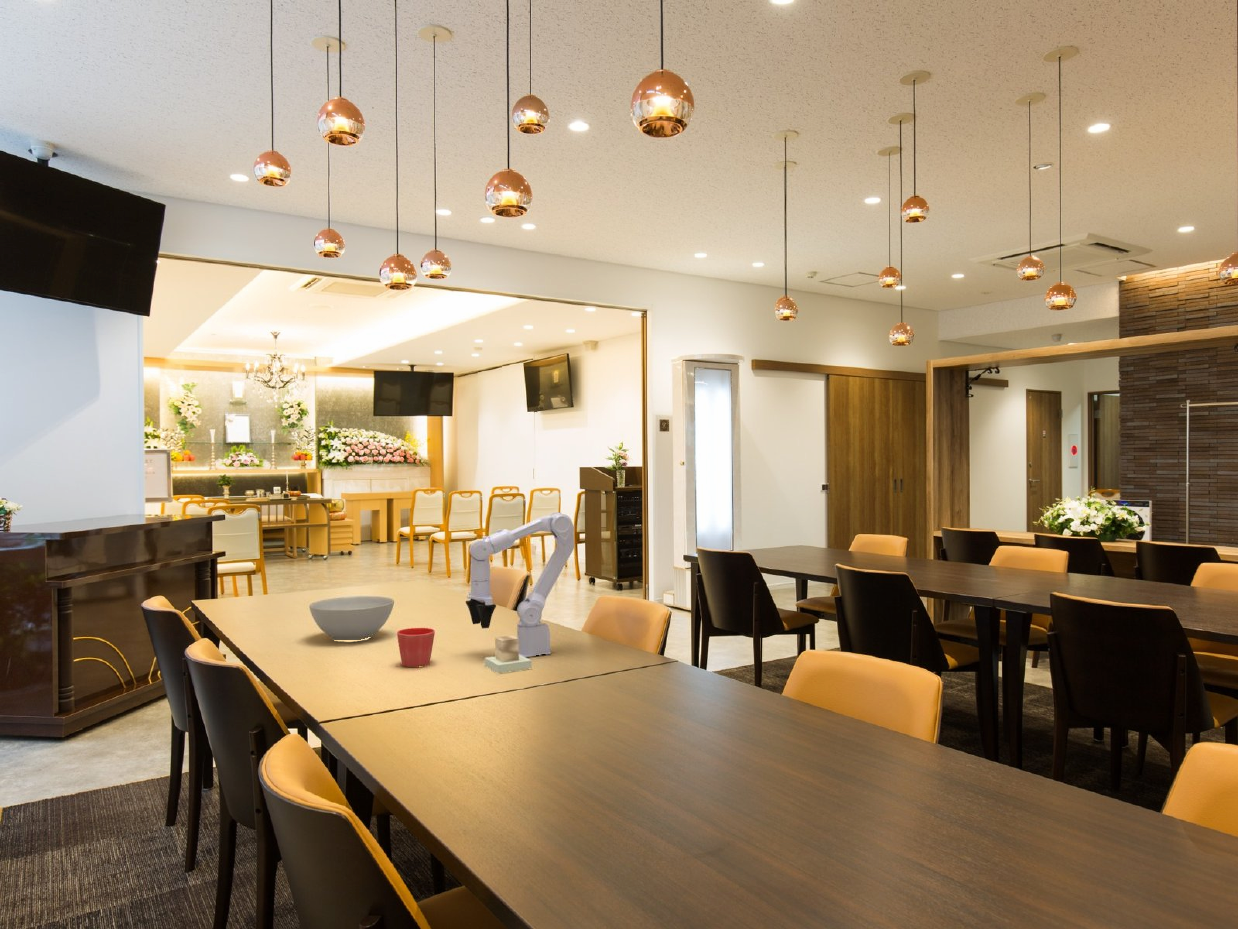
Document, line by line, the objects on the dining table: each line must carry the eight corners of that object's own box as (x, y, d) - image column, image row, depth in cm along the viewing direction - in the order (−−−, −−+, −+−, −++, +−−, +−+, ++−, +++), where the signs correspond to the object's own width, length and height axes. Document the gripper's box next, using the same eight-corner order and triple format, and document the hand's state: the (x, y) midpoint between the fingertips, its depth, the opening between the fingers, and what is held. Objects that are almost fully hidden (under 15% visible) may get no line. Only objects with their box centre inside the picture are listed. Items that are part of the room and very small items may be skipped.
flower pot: (440, 660, 240) (439, 627, 240) (427, 669, 229) (427, 635, 229) (405, 659, 241) (405, 627, 241) (391, 669, 230) (391, 634, 230)
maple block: (512, 656, 233) (511, 635, 233) (518, 659, 229) (518, 638, 229) (495, 658, 231) (495, 637, 231) (502, 662, 227) (501, 640, 227)
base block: (517, 663, 237) (517, 653, 237) (531, 671, 229) (531, 660, 229) (484, 668, 232) (484, 657, 232) (498, 676, 224) (498, 665, 224)
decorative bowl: (306, 635, 278) (306, 599, 278) (387, 628, 289) (387, 594, 289) (313, 651, 253) (312, 612, 253) (400, 642, 265) (400, 605, 265)
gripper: (459, 578, 247) (459, 623, 247) (476, 584, 235) (476, 631, 235) (481, 576, 251) (481, 620, 251) (499, 582, 238) (499, 628, 238)
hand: (480, 625), depth 243 cm, fingers open, 7 cm apart
